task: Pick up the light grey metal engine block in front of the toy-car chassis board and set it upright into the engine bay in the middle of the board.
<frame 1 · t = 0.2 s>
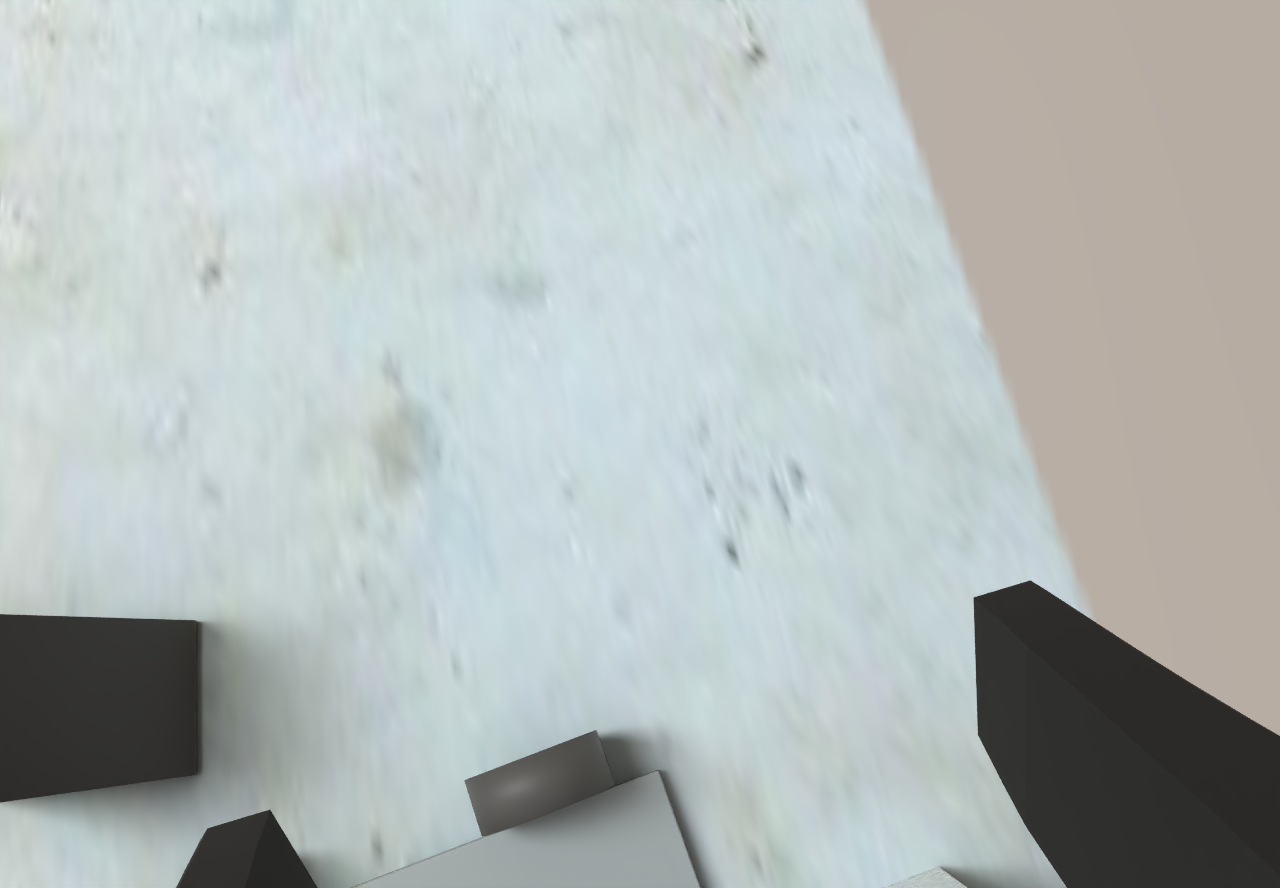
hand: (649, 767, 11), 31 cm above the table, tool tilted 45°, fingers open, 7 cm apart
phone stand: (92, 708, 42), on the table
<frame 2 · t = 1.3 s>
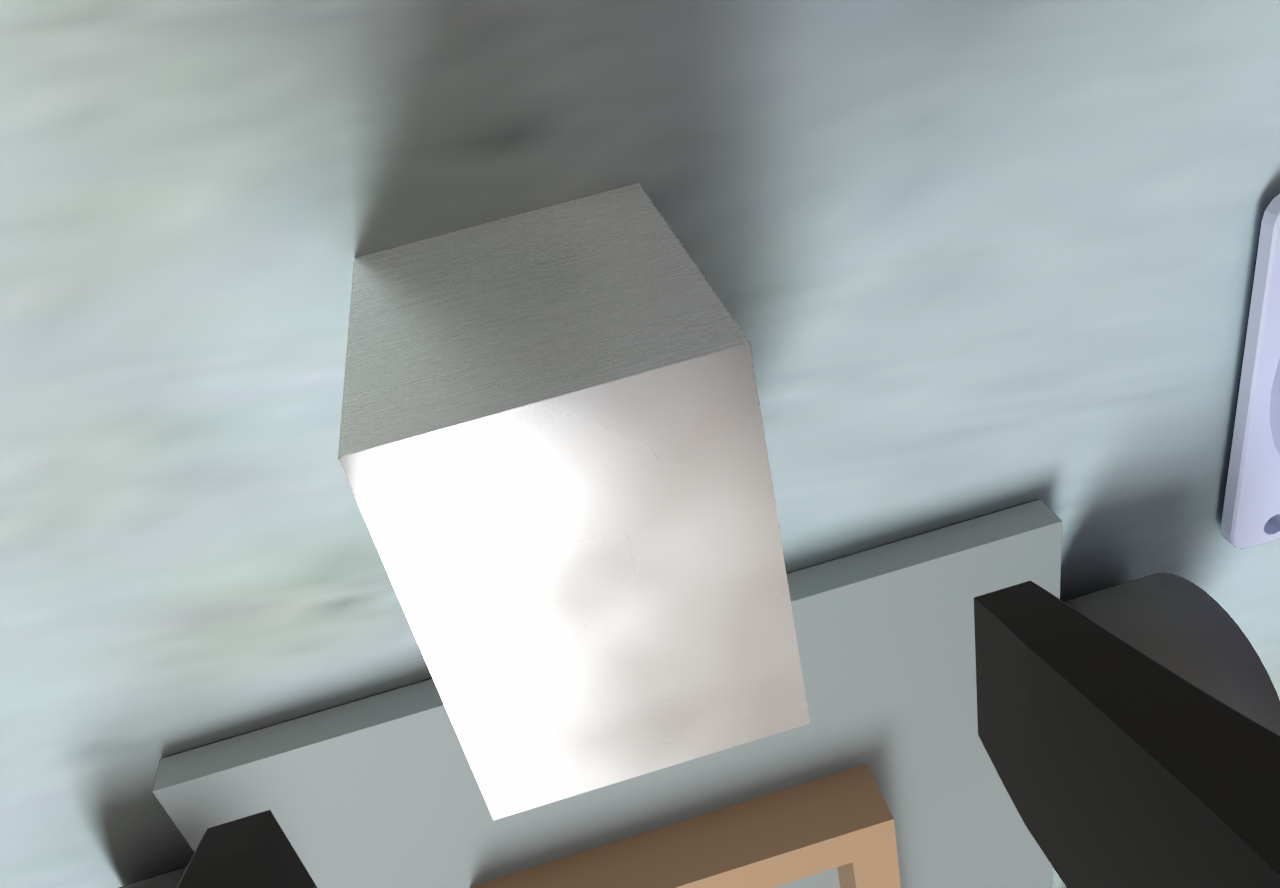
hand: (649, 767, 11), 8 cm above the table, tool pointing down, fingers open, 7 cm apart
engine block: (544, 384, 18), on the table
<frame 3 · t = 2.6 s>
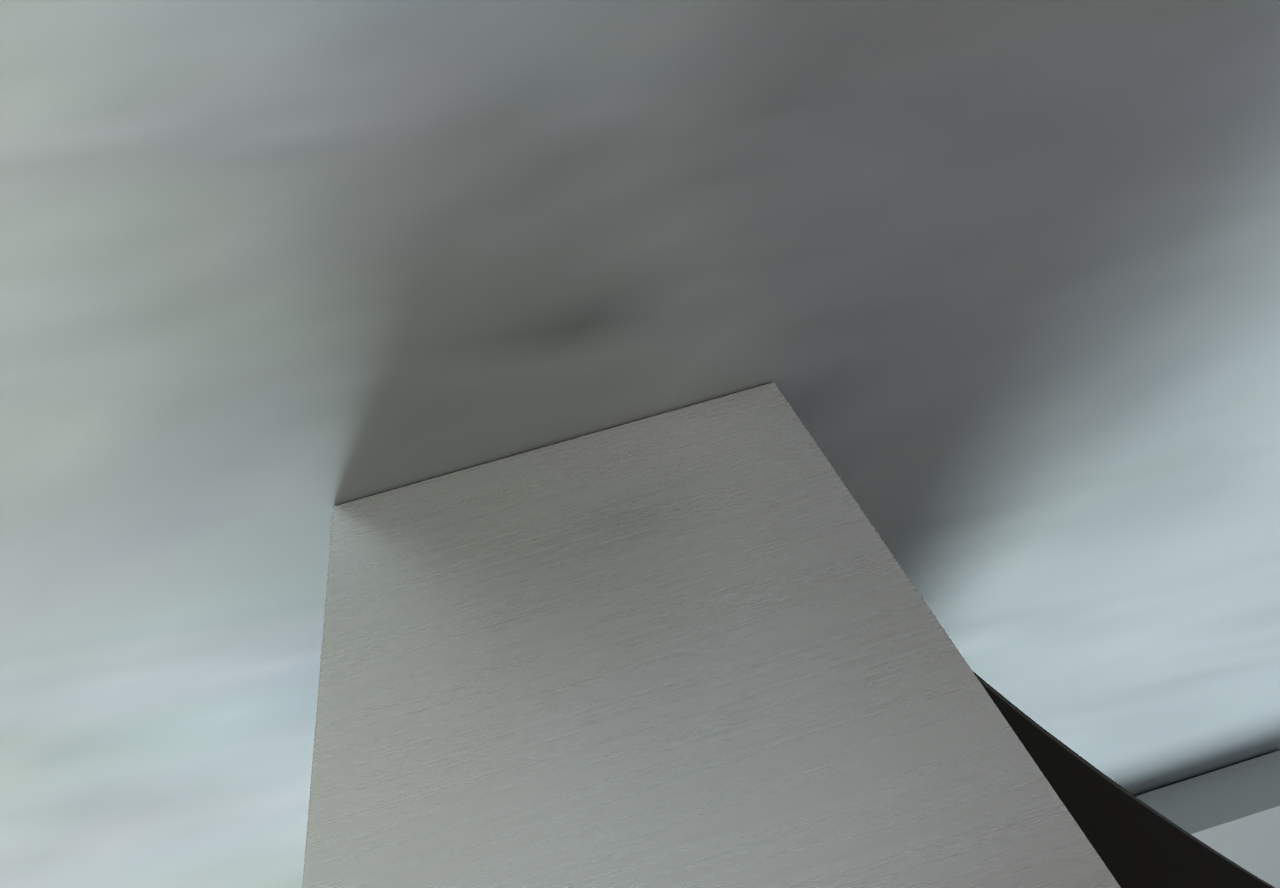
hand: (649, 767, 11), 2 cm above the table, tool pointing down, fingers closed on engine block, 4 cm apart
engine block: (619, 659, 12), on the table, touching gripper
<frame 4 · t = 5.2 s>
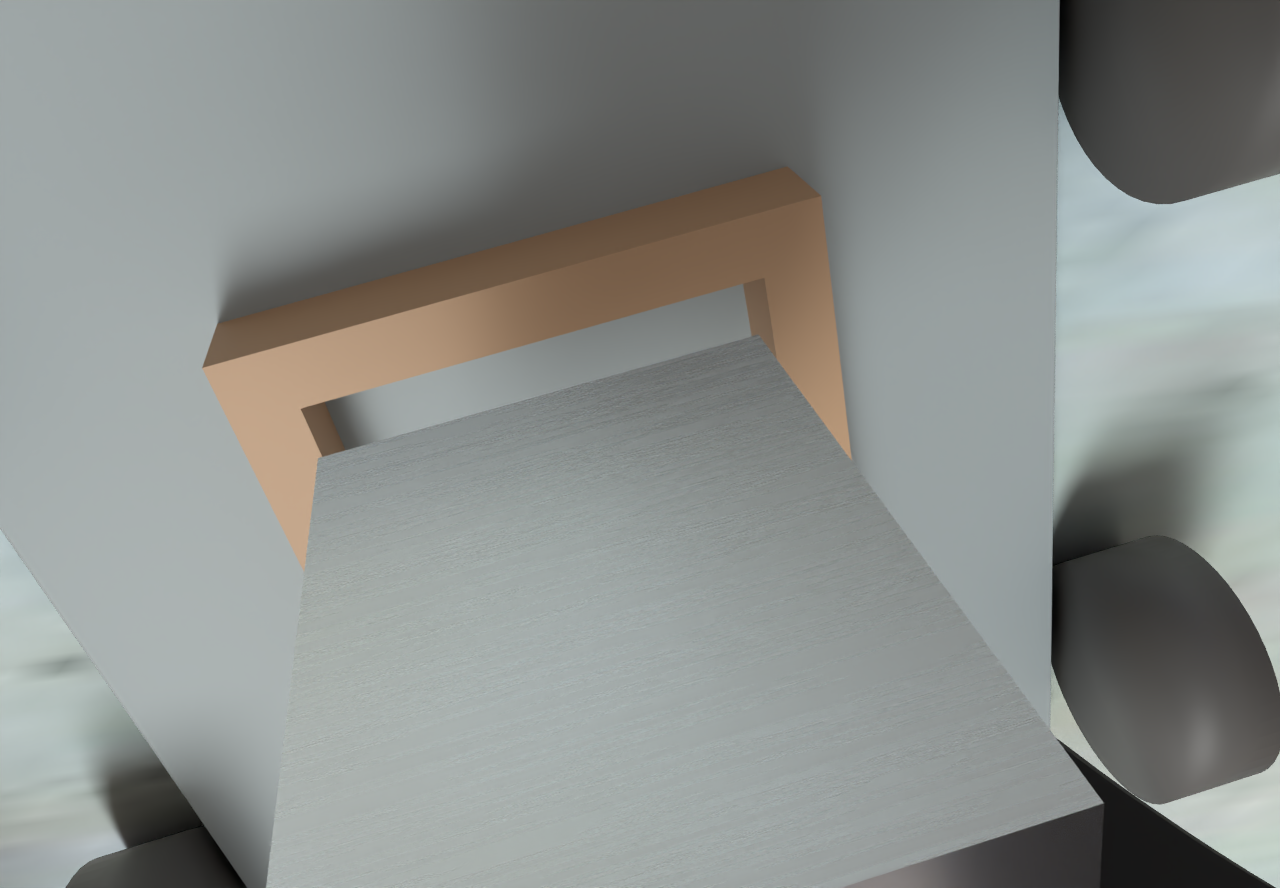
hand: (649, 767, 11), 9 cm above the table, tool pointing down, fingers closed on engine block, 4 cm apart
engine block: (607, 619, 12), point 7 cm above the table, touching gripper
chassis board: (579, 488, 19), on the table
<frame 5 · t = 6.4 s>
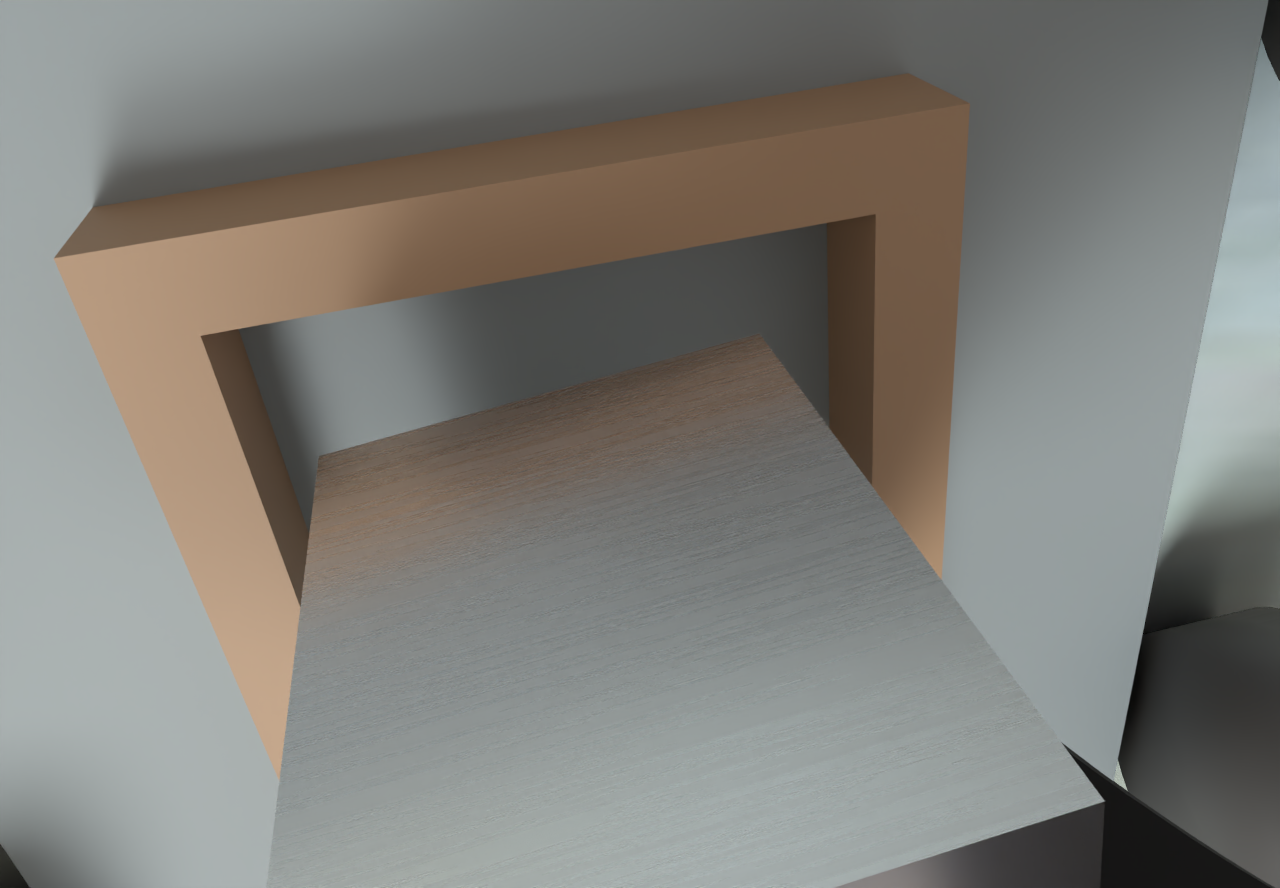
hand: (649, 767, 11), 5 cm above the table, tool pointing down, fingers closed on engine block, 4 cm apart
engine block: (607, 618, 12), point 3 cm above the table, touching gripper
chassis board: (575, 491, 15), on the table
when the fingers open (3 cm above the table, at t = 7.7 s): engine block stays where it is, resting on chassis board.
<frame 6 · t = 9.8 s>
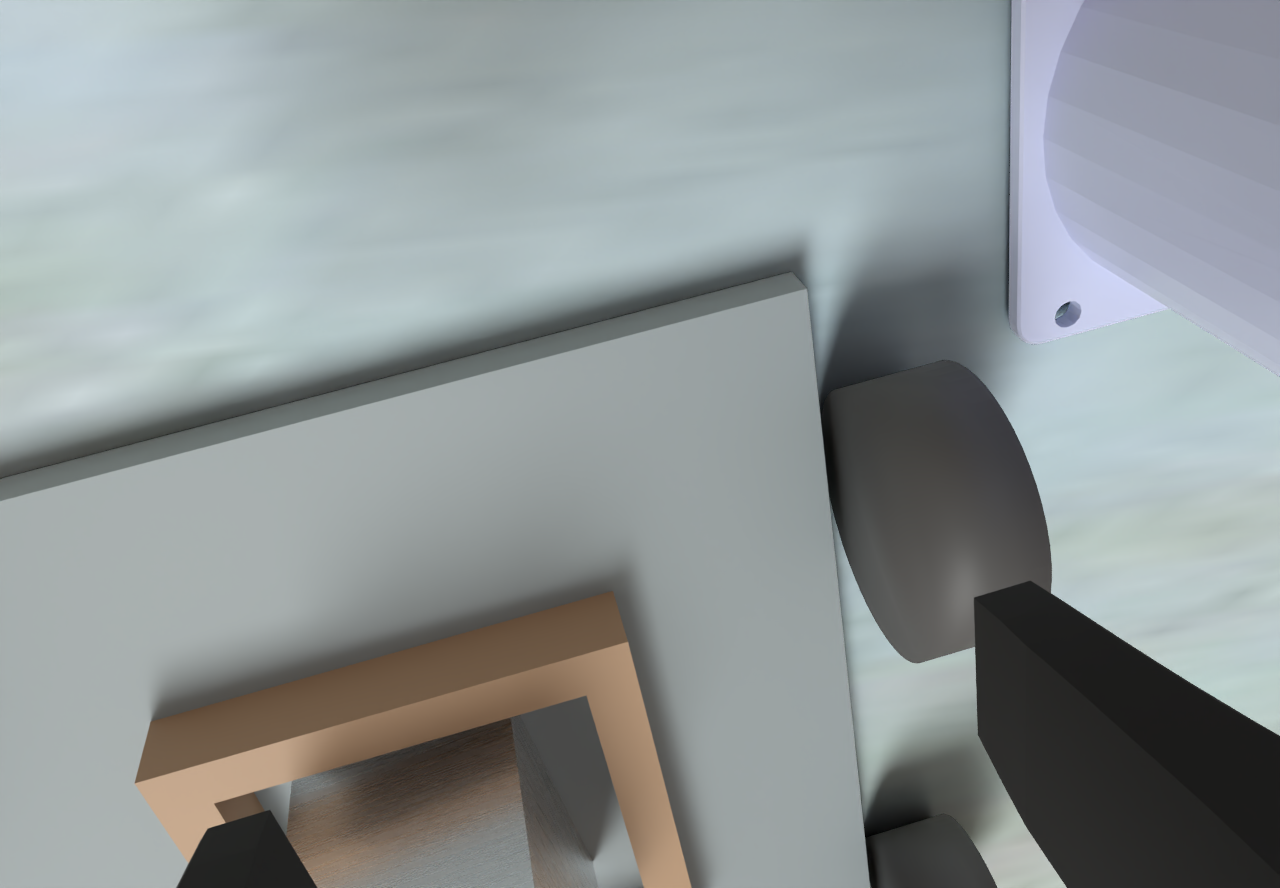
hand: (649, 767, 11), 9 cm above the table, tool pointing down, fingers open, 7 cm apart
engine block: (454, 816, 23), point 1 cm above the table, touching chassis board
chassis board: (458, 798, 23), on the table
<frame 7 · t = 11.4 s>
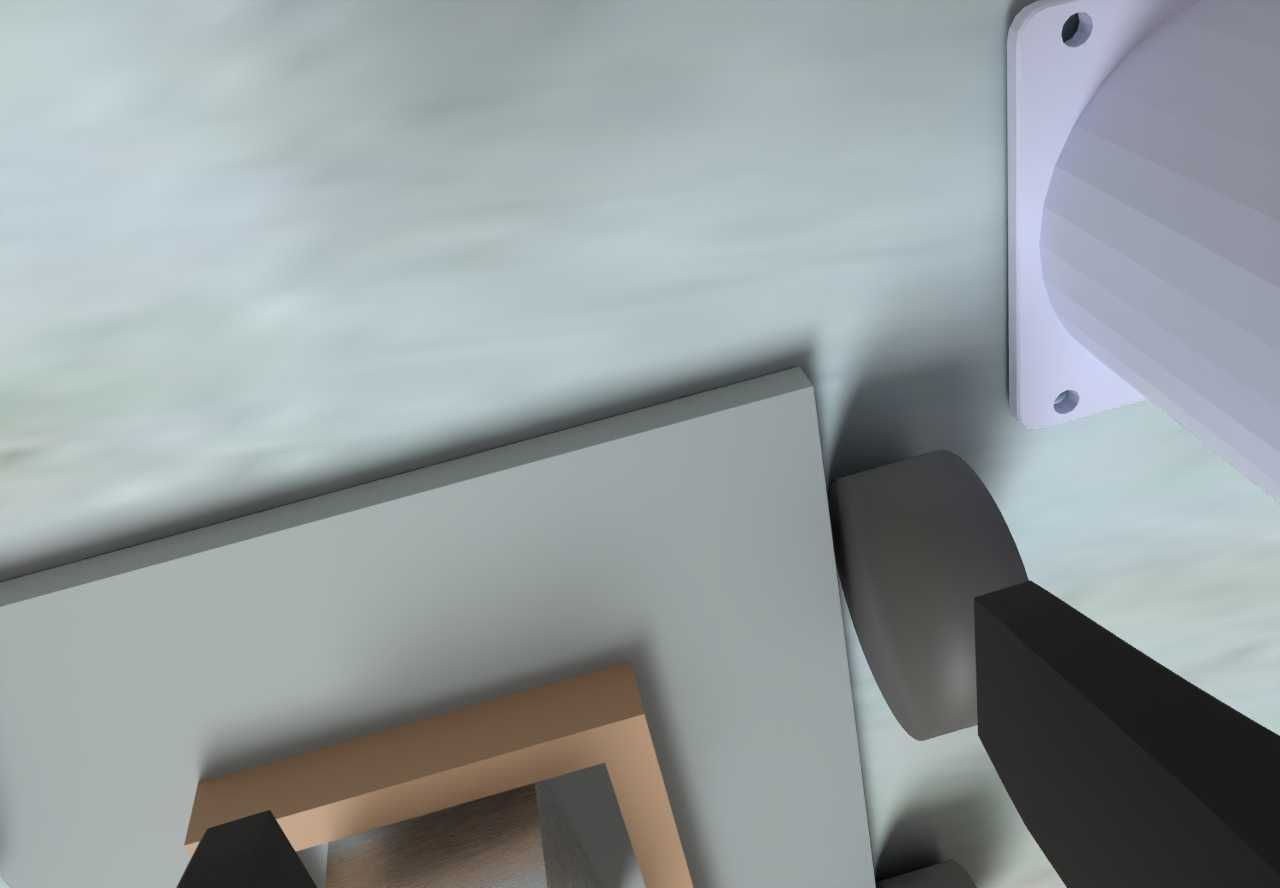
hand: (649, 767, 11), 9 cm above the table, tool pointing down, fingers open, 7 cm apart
engine block: (481, 866, 24), point 1 cm above the table, touching chassis board
chassis board: (485, 847, 25), on the table
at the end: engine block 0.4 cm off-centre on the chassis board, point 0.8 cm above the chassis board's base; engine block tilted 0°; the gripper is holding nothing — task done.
